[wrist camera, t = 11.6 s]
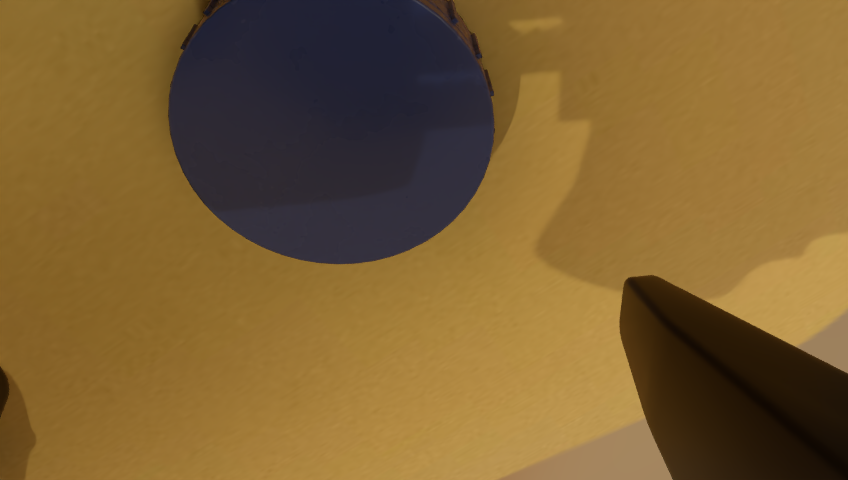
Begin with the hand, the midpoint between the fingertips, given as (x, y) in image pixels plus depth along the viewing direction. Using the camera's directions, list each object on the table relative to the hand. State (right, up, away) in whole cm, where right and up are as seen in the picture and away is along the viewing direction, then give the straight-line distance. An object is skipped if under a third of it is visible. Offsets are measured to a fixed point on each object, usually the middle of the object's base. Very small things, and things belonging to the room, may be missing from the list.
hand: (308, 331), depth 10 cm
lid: (0, +4, +5) cm, 6 cm away
